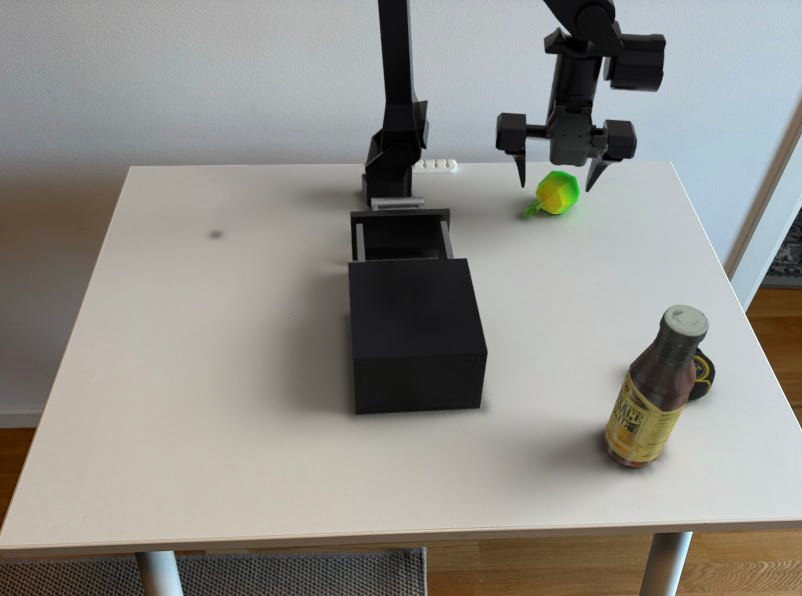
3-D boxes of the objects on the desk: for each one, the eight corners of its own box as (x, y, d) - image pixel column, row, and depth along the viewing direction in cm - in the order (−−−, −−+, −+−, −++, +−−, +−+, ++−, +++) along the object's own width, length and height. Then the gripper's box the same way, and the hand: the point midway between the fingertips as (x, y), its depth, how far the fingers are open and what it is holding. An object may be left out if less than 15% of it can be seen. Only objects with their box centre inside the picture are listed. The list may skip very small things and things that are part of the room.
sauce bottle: (595, 426, 83) (639, 291, 68) (650, 423, 83) (705, 289, 69) (610, 475, 78) (661, 342, 64) (668, 472, 79) (731, 339, 64)
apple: (574, 155, 108) (540, 180, 103) (596, 192, 109) (564, 219, 104) (541, 175, 114) (507, 200, 109) (563, 210, 115) (530, 236, 110)
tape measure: (691, 361, 90) (701, 339, 87) (717, 403, 86) (728, 382, 83) (638, 367, 89) (646, 345, 86) (661, 411, 85) (670, 389, 82)
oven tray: (350, 234, 104) (348, 189, 99) (442, 231, 105) (445, 187, 100) (356, 330, 91) (354, 284, 86) (460, 325, 92) (465, 280, 87)
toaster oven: (350, 319, 94) (347, 262, 87) (461, 314, 95) (467, 257, 88) (355, 414, 83) (352, 358, 76) (480, 408, 84) (488, 352, 78)
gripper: (502, 111, 91) (489, 216, 102) (655, 121, 91) (625, 226, 102) (502, 70, 99) (490, 172, 110) (643, 79, 98) (617, 181, 109)
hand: (554, 188), depth 108 cm, fingers open, 9 cm apart
